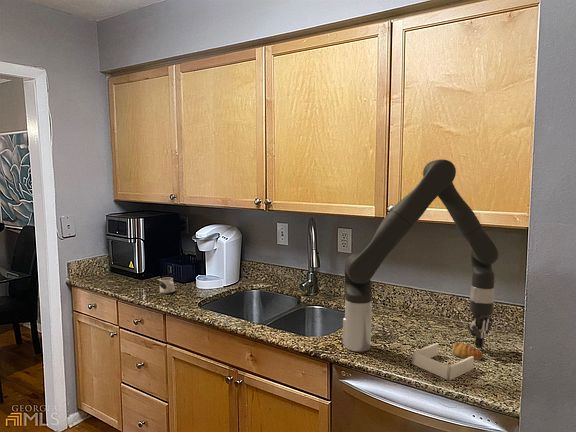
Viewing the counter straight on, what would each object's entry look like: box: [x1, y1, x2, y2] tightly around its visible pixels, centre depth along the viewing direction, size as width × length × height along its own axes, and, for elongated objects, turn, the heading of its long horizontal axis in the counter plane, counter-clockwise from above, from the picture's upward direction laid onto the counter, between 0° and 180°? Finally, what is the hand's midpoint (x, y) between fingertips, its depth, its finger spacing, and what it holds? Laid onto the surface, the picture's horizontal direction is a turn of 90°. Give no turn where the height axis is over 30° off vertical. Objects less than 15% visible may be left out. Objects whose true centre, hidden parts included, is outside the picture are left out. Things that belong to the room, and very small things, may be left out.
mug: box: [158, 276, 176, 294], centre depth 221 cm, size 10×7×7 cm
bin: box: [411, 342, 475, 381], centre depth 139 cm, size 14×13×4 cm
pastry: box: [451, 341, 483, 361], centre depth 147 cm, size 9×7×4 cm
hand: (479, 347), depth 152 cm, fingers closed
